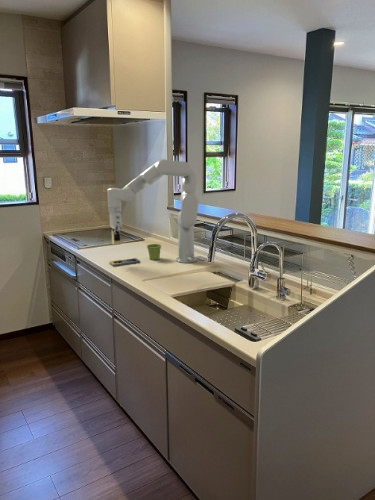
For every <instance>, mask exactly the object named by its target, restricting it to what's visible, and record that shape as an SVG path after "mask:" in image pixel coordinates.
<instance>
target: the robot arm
mask: <svg viewBox="0 0 375 500" xmlns="http://www.w3.org/2000/svg"><path fill="white" fill-rule="evenodd" d="M163 176H169V177H180V178H181V191H180V192H181V193H180V199H179V201H180V204H181V209H180V211H179V212H178V214H177V232H178V234H177V235H178V237H177V238H178V239H177V240H178V256H177V258H176V260H175V261H177V262H178V263H181V264H182V263H183V264H188V263H194V262H196V261H197V257H196V256H195V228H194V226H195V225H196V223H197V217H198V210H199V199H198V196H197V195H196V194H197V191H196V190H197V175H196V173H195V170H194V169H193V167H192V166H191V165H190V163H189V162H186V161H183V160H169V159H164V158H161V159H158V160H157V161H156V162H154V163H153V164H152V165H151V166H149V167H148V168H146V170H144V171H143V172H142V173H140V174H139V175H138V176H137V177H136V178H134V179H132V180H131V181H130V182H129V183H127V184H126V185H125V186H124V187H123V188H119V187H110V188H108V189H107V190H106V191H107V193H106V194H107V209H108V211H107V213H109V226H110V227H111V230H115V234H114V237H115V241H120V242H121V230H122V229H123V221H122V220H123V219H122V213H121V212H122V201H123V202H130V201H132V200H133V199H134V198H135V196H136V194H138V193H140V191H142V190H144V189H146V188H149V187H150V186H152V185H153V184H155V182H157V181H158V180H160V178H162V177H163ZM116 230H117V231H116Z"/></svg>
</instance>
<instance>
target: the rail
mask: <svg viewBox="0 0 375 500" xmlns="http://www.w3.org/2000/svg"><path fill="white" fill-rule="evenodd" d="M119 262H121V263H119ZM133 263H134V264H140V263H141V260H140V259H138V258H137V257H136V258H128V259H119V260H118V259H117V260H111V261H109V264H110V265H111V266H112V267H113V266H114V267H118V266H117V265H120V266H126V265H125V264H127V265H134V264H133Z"/></svg>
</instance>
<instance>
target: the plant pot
mask: <svg viewBox="0 0 375 500" xmlns="http://www.w3.org/2000/svg"><path fill="white" fill-rule="evenodd" d="M146 248H147V252H148V255H149V260H150V261H155V260H160V256H161V249H162V244H160V243H152V244H151V243H149V244H147V245H146Z"/></svg>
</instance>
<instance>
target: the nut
mask: <svg viewBox="0 0 375 500" xmlns="http://www.w3.org/2000/svg"><path fill="white" fill-rule="evenodd" d="M116 231H117V230H116ZM110 232H111V243H112V245H113V246H114V245H116V246H117V245H121V244H122V243H121V240H120V241H115V237H114V234H115V230H112V229H111V231H110Z"/></svg>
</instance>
